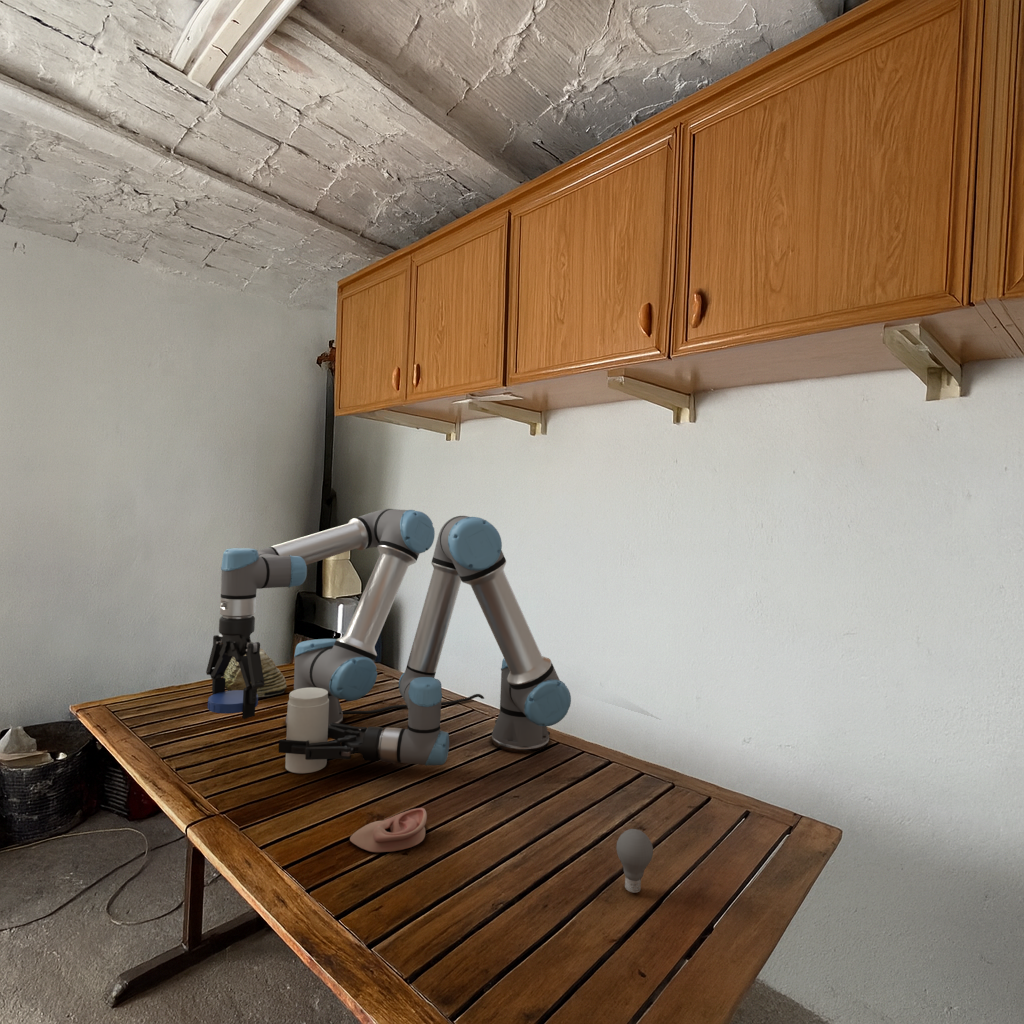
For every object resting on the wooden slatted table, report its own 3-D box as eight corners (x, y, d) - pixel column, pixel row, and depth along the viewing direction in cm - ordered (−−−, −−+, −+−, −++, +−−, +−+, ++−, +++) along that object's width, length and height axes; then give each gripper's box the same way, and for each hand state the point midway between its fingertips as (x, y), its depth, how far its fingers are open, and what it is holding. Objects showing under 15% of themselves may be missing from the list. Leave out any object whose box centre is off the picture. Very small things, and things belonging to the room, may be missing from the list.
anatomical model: (342, 825, 115) (369, 797, 126) (341, 847, 115) (368, 817, 126) (412, 836, 112) (433, 806, 123) (411, 859, 112) (432, 826, 123)
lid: (266, 706, 146) (267, 697, 146) (221, 717, 138) (222, 707, 138) (243, 696, 153) (243, 687, 153) (198, 705, 144) (199, 696, 144)
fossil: (218, 695, 195) (220, 647, 195) (278, 685, 208) (279, 640, 207) (228, 703, 189) (230, 653, 188) (289, 692, 201) (290, 645, 201)
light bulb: (610, 879, 108) (613, 822, 108) (644, 879, 109) (647, 822, 109) (619, 902, 102) (622, 840, 102) (655, 901, 103) (658, 840, 103)
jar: (283, 759, 151) (286, 688, 151) (324, 754, 155) (326, 685, 155) (286, 775, 143) (289, 700, 143) (329, 770, 147) (331, 697, 146)
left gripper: (192, 611, 148) (187, 705, 148) (255, 625, 136) (250, 727, 136) (221, 607, 154) (217, 697, 155) (284, 620, 142) (279, 718, 143)
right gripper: (367, 781, 137) (267, 773, 138) (393, 742, 159) (306, 736, 160) (369, 746, 137) (268, 739, 138) (394, 712, 159) (307, 707, 160)
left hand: (232, 711), depth 145 cm, fingers closed on lid, 10 cm apart
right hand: (288, 737), depth 149 cm, fingers closed on jar, 9 cm apart
